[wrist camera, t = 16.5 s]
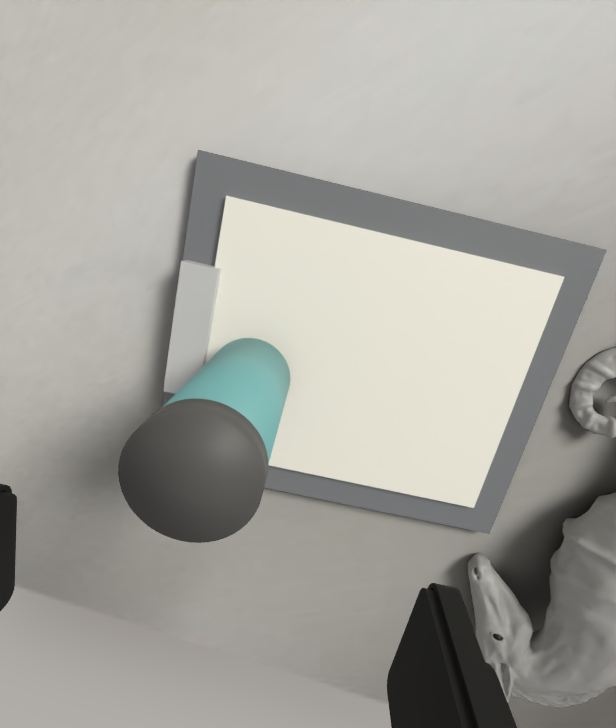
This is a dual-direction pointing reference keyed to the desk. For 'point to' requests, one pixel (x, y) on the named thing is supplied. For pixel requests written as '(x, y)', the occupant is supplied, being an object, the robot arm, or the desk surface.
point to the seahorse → (560, 592)
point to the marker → (209, 446)
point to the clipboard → (379, 334)
